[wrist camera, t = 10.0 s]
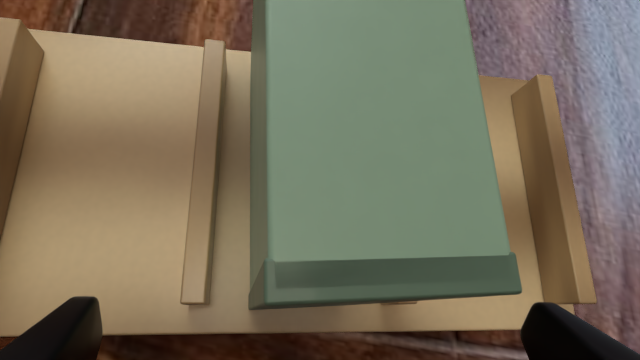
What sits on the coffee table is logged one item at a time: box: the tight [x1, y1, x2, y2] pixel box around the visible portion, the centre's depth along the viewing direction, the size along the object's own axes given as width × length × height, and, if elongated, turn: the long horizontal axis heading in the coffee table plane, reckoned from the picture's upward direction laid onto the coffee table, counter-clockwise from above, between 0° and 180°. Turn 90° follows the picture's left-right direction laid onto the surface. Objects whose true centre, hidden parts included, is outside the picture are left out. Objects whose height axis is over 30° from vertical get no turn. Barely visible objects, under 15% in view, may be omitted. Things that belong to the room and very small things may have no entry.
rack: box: [0, 17, 597, 337], centre depth 17 cm, size 12×24×3 cm, turn 90°
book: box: [248, 0, 522, 310], centre depth 12 cm, size 10×4×11 cm, turn 3°
